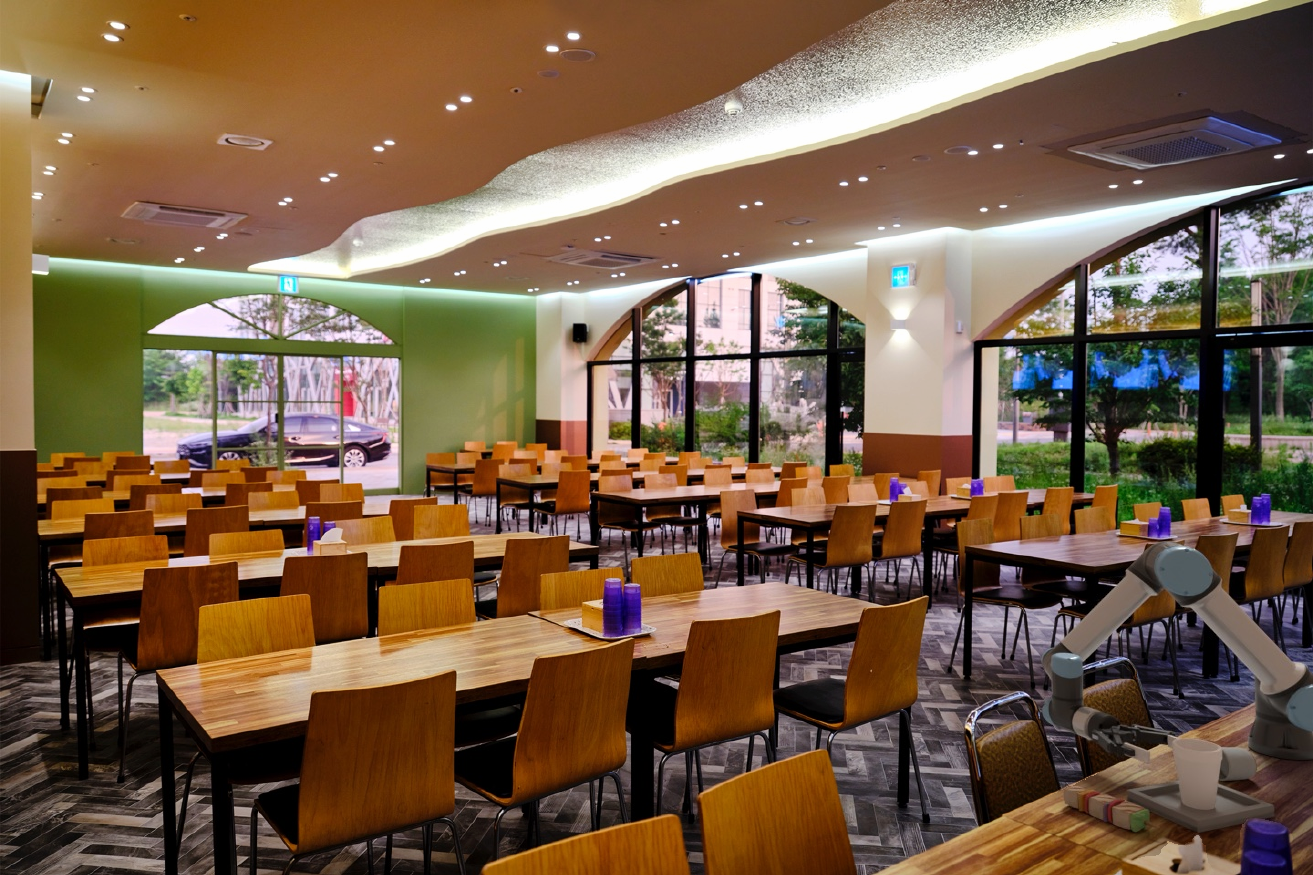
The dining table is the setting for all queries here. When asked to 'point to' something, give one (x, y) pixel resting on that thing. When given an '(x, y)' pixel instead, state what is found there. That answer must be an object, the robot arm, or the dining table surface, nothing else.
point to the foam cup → (1197, 771)
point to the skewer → (1108, 808)
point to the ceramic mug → (1237, 764)
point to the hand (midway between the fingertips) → (1171, 753)
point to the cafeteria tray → (1226, 812)
